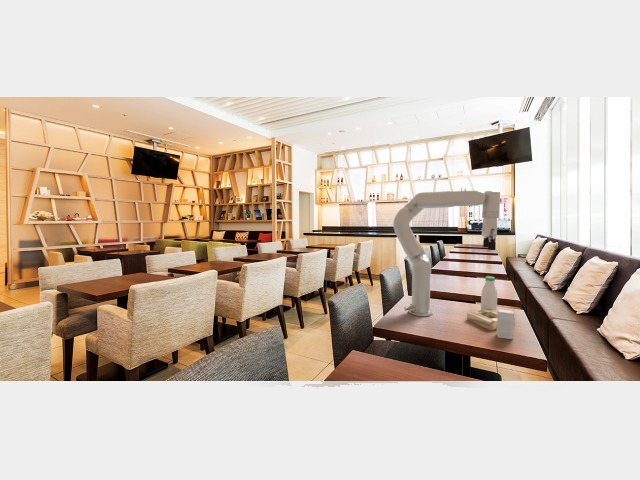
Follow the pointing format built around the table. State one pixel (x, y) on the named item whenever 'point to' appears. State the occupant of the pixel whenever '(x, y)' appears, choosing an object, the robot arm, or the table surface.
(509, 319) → the skincare box
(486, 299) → the milk bottle
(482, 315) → the socket block
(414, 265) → the robot arm
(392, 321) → the table surface
